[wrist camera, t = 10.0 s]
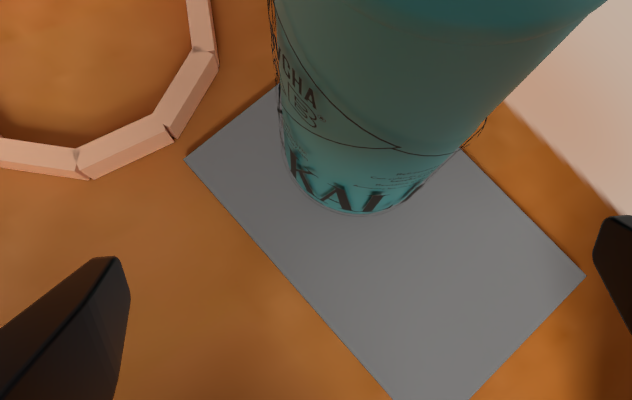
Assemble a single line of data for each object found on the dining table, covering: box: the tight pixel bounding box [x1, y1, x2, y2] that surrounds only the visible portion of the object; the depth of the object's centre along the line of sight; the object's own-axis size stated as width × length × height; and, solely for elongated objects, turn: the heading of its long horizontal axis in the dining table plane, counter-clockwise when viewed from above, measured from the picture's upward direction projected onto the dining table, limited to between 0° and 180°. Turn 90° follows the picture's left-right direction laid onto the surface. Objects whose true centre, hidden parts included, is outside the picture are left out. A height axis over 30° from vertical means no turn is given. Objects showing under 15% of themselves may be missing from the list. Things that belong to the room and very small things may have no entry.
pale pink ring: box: [0, 0, 220, 181], centre depth 23 cm, size 13×14×2 cm
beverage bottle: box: [267, 0, 607, 217], centre depth 13 cm, size 6×7×20 cm
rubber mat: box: [183, 84, 586, 400], centre depth 22 cm, size 16×10×1 cm, turn 42°
